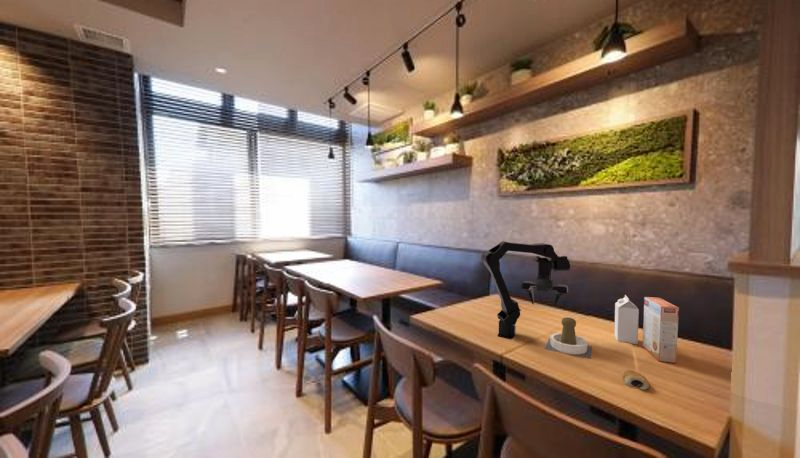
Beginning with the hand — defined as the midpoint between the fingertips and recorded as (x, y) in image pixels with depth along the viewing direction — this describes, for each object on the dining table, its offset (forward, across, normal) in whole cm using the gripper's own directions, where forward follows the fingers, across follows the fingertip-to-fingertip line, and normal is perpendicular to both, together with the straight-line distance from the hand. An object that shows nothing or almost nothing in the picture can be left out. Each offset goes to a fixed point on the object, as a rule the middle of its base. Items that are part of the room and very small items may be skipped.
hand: (544, 305), depth 146 cm
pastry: (+13, +31, -30) cm, 45 cm away
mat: (+13, +11, -12) cm, 21 cm away
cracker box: (+13, +41, 0) cm, 43 cm away
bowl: (+12, +11, -12) cm, 20 cm away
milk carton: (+13, +31, +10) cm, 35 cm away
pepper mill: (+12, +11, -12) cm, 20 cm away
